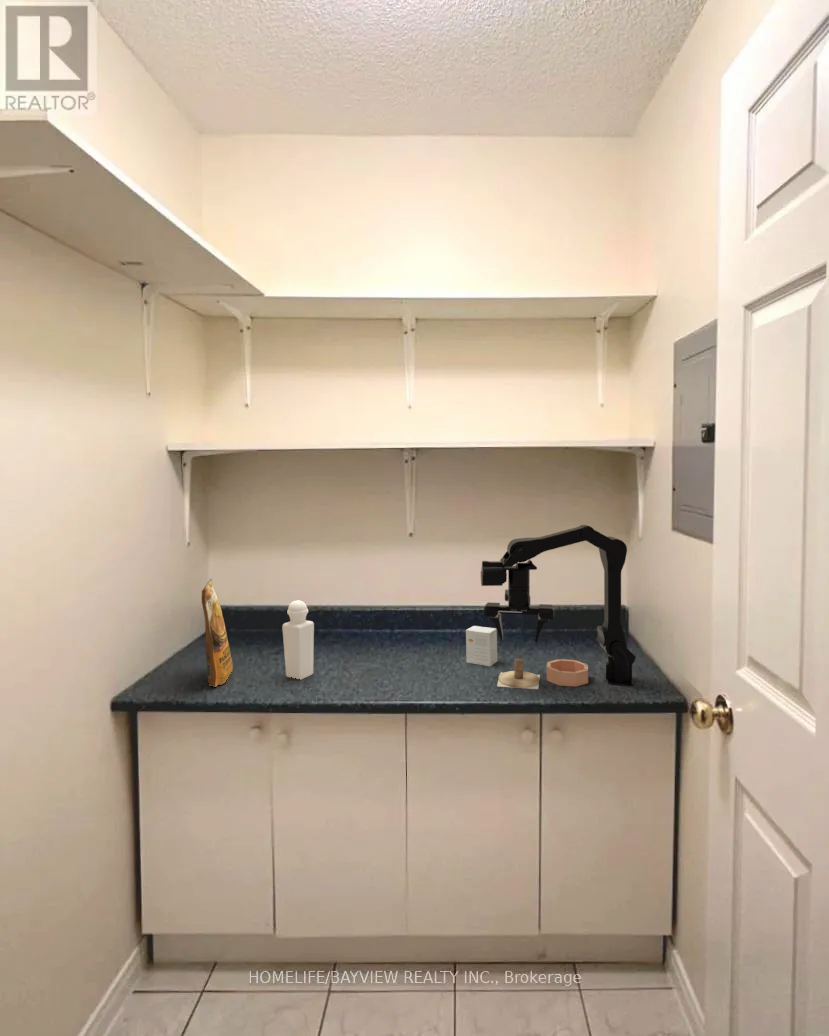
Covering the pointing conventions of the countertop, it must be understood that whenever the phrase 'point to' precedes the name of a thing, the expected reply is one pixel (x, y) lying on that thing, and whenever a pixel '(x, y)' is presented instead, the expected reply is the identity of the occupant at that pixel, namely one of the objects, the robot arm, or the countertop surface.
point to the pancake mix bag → (215, 638)
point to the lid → (518, 677)
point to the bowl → (567, 672)
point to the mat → (515, 687)
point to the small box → (481, 645)
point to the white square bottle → (298, 642)
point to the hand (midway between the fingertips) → (519, 641)
